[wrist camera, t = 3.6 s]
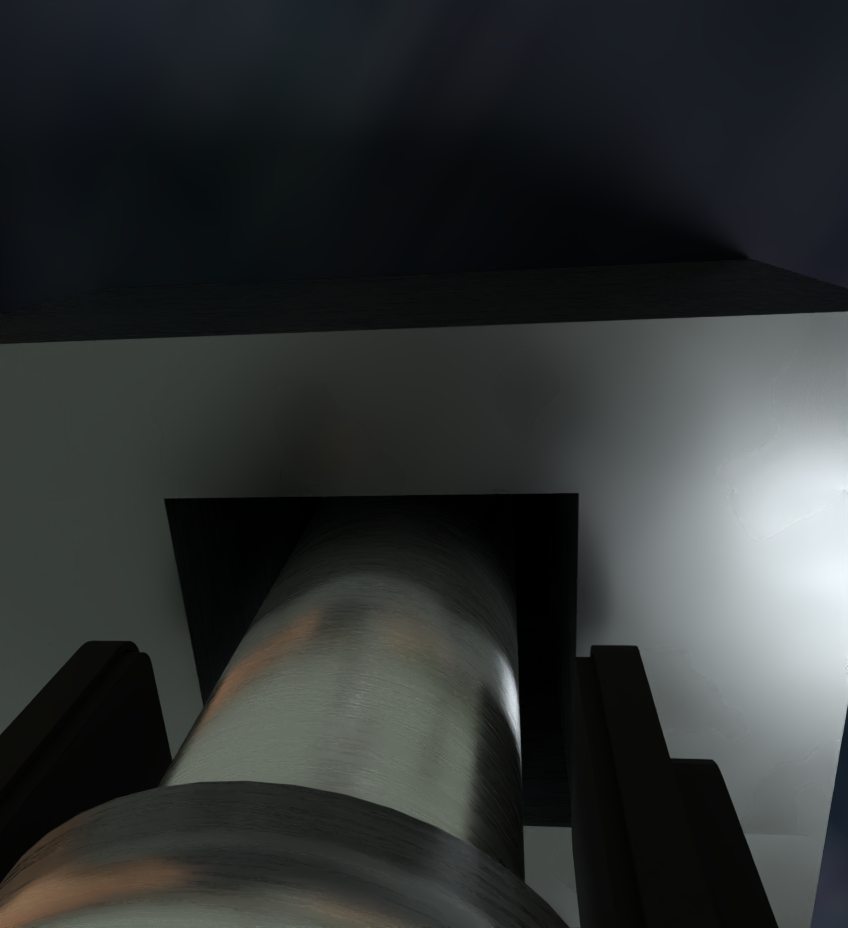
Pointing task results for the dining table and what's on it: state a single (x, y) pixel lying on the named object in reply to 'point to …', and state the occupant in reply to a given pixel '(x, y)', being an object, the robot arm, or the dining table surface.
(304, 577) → the lock pin
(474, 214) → the dining table surface
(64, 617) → the pulley bracket
